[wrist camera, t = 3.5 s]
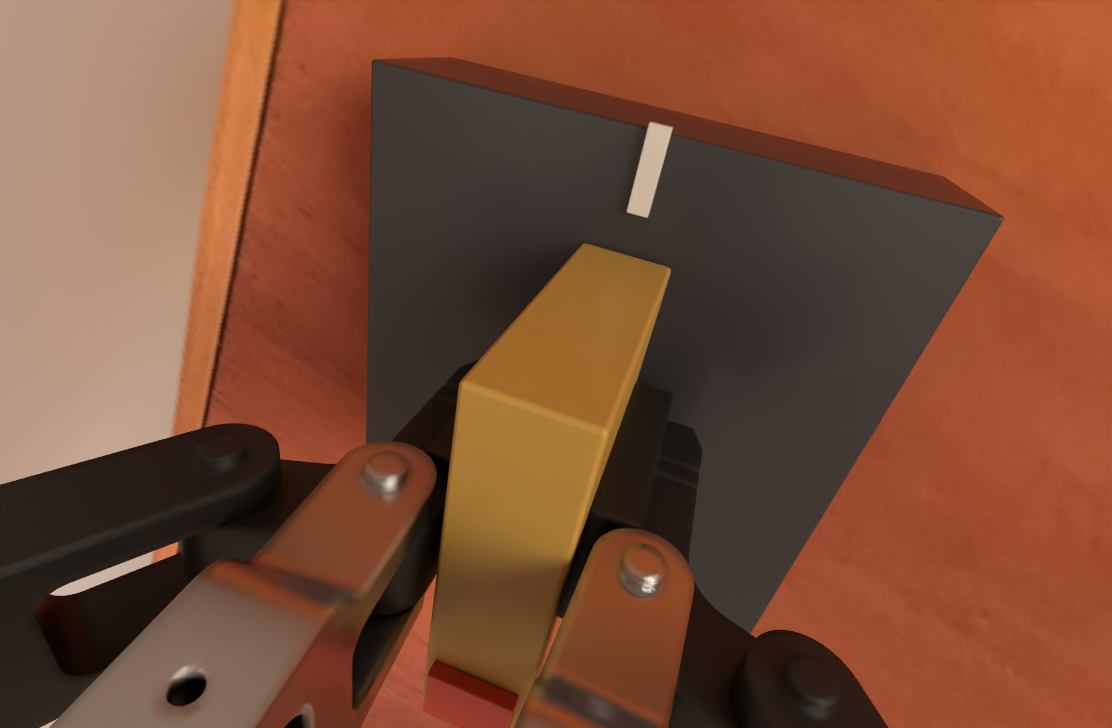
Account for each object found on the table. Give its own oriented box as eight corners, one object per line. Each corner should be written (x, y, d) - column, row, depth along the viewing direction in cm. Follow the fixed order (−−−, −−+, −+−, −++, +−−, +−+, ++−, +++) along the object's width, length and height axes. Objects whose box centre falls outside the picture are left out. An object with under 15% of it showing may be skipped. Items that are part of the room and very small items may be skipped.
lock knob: (582, 241, 10) (445, 392, 6) (672, 266, 10) (603, 447, 5) (527, 490, 13) (412, 714, 9) (594, 515, 13) (510, 759, 8)
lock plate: (450, 52, 12) (365, 52, 9) (949, 171, 10) (1015, 212, 8) (421, 428, 17) (361, 496, 15) (749, 545, 16) (747, 646, 13)
